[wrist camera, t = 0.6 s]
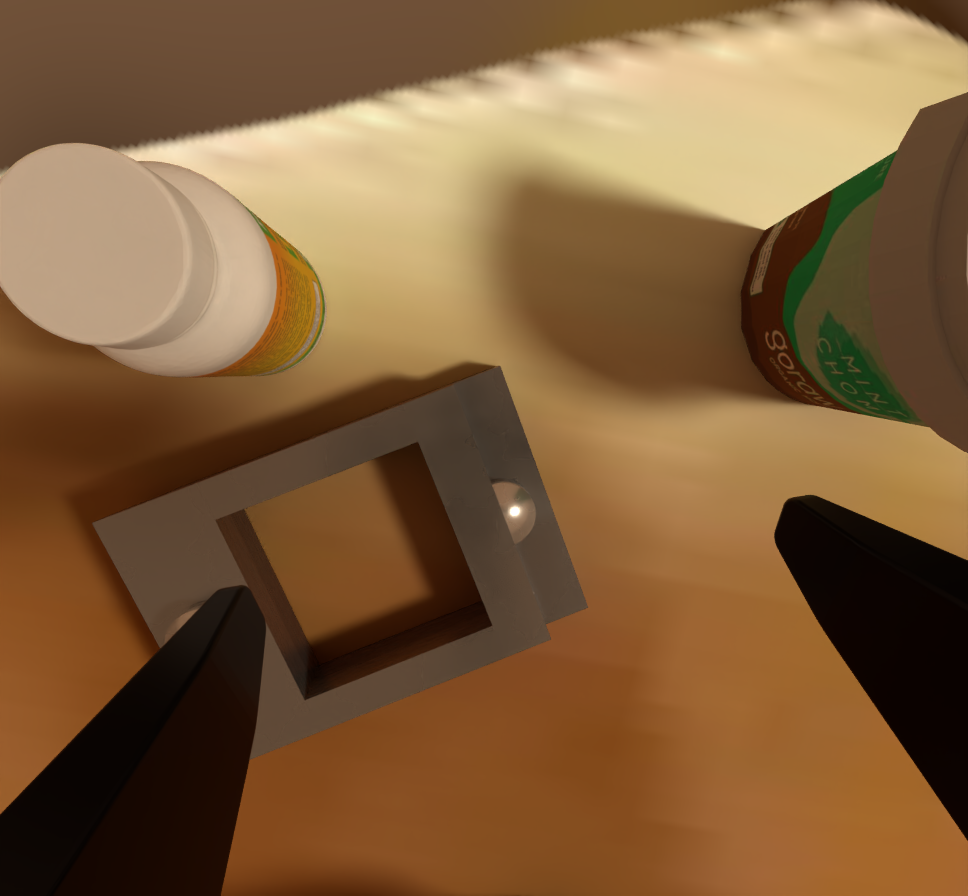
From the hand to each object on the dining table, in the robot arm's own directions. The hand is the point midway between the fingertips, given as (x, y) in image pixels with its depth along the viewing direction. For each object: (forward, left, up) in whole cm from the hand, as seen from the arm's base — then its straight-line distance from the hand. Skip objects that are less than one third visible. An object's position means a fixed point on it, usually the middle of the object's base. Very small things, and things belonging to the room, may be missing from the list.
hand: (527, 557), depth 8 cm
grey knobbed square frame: (-5, +4, -13) cm, 15 cm away
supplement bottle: (+4, +9, -13) cm, 17 cm away
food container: (+6, -14, -13) cm, 20 cm away
